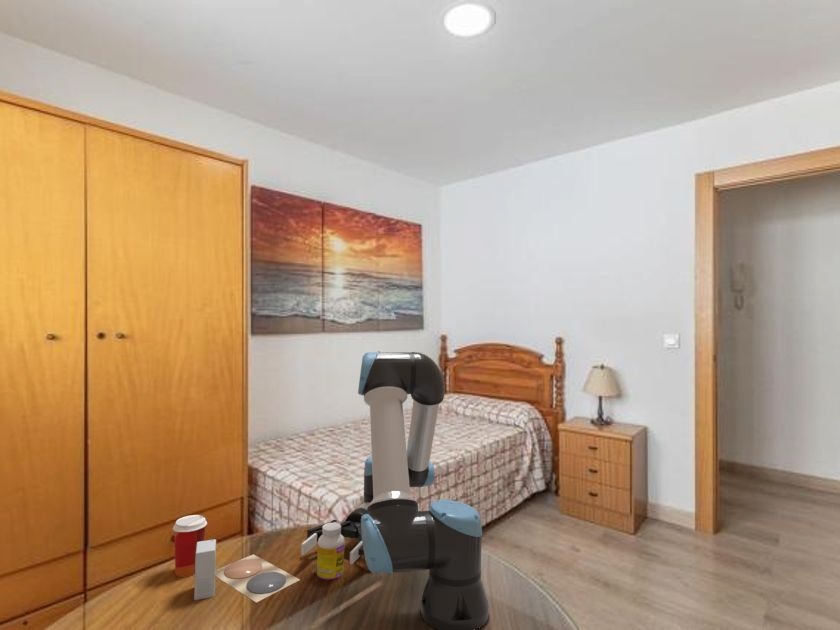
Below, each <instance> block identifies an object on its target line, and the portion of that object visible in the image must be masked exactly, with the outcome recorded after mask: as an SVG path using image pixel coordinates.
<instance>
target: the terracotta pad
mask: <svg viewBox="0 0 840 630" xmlns="http://www.w3.org/2000/svg"><path fill="white" fill-rule="evenodd" d="M239 560H240V561H239ZM239 560H236V561H234V562H232V563H229V564H230V565H229V564H227V565H228V566H227V565H226V566H227V567H226V568H225V570H224V575H225V576H226V577H228V578H231V579H243V578H248V577H251V576H253V575H255V574H257V573H258V572H260V570H261V569H262V563H261V562H260V561H257V560H253V559H246V560H241V559H239Z"/></svg>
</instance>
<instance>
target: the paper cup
mask: <svg viewBox="0 0 840 630" xmlns="http://www.w3.org/2000/svg"><path fill="white" fill-rule="evenodd" d="M207 525H208V522H207V520H206V517H204V516H203V515H201V514H193V515H192V514H191V515H186V516H182V517H180V518H178V519H177V520H176V521H175V523H174V525H173V527H172V531H173V532H174V565H175V566H174V567H175V568H174V570H175V572H174V573H175V575H176V576H177V577H178V578H179V577H180V578H187V577H191V576H195V560H196V546H197V542H200V541H205V536H206V535H205V534H206V526H207Z"/></svg>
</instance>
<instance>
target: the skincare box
mask: <svg viewBox="0 0 840 630" xmlns="http://www.w3.org/2000/svg"><path fill="white" fill-rule="evenodd" d="M216 550H217V539H208V540H204V541H200V542H197V546H196V560H195V575H194V592H193V593H194V595H193V600H194V601H199V600H203V599H209V598H213V597H215V594H216V593H215V592H216V591H215V589H216V576H215V570H216V557H217V554H216V552H217V551H216Z"/></svg>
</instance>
